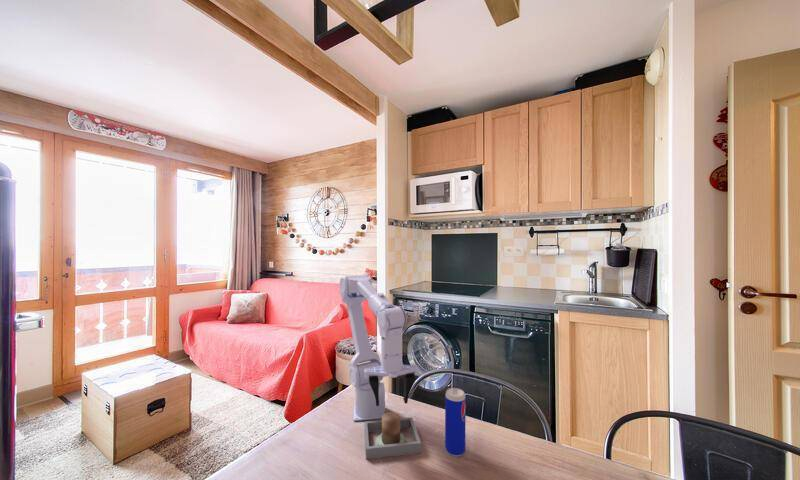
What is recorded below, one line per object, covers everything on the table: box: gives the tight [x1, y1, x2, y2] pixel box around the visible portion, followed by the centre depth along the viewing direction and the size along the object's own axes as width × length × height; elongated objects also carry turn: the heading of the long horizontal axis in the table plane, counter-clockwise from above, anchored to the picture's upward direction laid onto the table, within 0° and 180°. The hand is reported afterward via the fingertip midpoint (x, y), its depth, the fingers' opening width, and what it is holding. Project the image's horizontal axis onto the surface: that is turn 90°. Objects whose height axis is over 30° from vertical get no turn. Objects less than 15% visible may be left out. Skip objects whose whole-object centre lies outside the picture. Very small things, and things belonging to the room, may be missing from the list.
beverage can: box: [444, 387, 467, 458], centre depth 74 cm, size 5×5×15 cm
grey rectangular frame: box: [363, 416, 422, 460], centre depth 77 cm, size 14×11×2 cm
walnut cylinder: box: [381, 411, 401, 445], centre depth 77 cm, size 5×5×6 cm
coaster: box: [376, 432, 406, 446], centre depth 77 cm, size 8×8×1 cm
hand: (391, 402), depth 77 cm, fingers open, 7 cm apart
